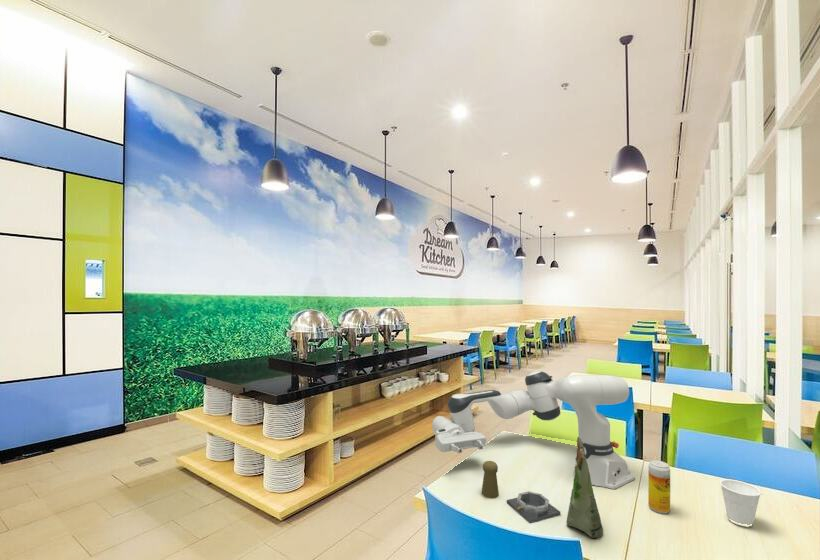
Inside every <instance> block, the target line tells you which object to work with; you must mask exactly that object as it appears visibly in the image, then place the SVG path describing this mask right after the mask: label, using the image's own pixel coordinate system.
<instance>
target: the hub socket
mask: <svg viewBox="0 0 820 560" xmlns="http://www.w3.org/2000/svg"><path fill="white" fill-rule="evenodd" d="M506 504H507V505H508V506H509V507H511V509H512V510H514V511H515V512H516V513H518V514H519V515H520V516H521V517H522V518H523V519H524V520H525V521H527V522H528V523H529V524H532V523H535V522H540V521H543V520H547V519H552V518H555V517H558V516H561V511H560V510H559V509H557V508H556V507H555V506H553V505H552V504H551V503H550V499H548V498H547V497H546V496H544V495H543V494H541V493H537V492H533V491H524V492H519V493H518V495H517V497H513V498H509V499H506Z"/></svg>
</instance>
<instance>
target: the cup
mask: <svg viewBox="0 0 820 560" xmlns="http://www.w3.org/2000/svg"><path fill="white" fill-rule="evenodd" d="M719 485H720V487H721V491H722V496H723V500H724V506H725V507H724V508H725V511H726V517H728V518H729V519H731V520H733V521H735V522H737V523H741V524H747V525H750V524H753V525H754V523H755V517H756V515H757V514H756V513H757V509H758V504H759V502H760V501H759V500H760V497H761V495H762V492H761V490H760V489H759V488H758V487H756V486H755V485H752V484H750V483H747V482H744V481H741V480H736V479H730V478H727V479H721V480H720V481H719ZM728 518H727V519H728ZM729 519H728V520H729Z"/></svg>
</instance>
